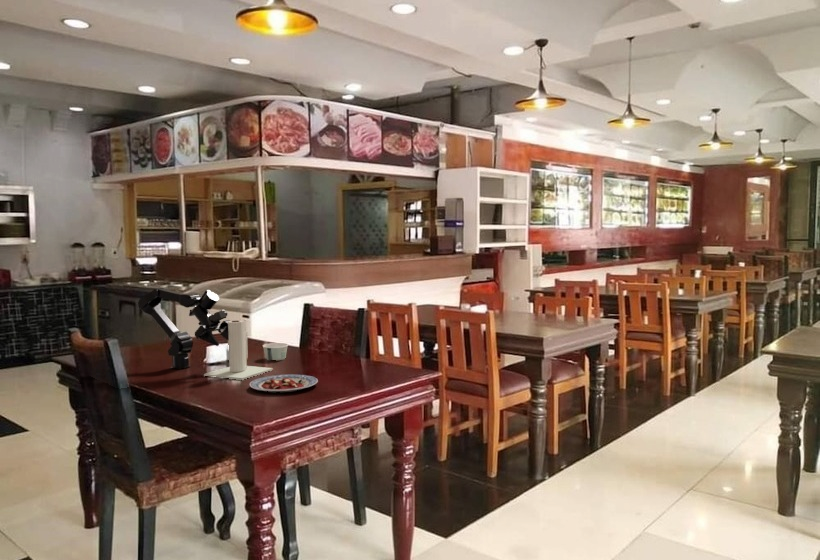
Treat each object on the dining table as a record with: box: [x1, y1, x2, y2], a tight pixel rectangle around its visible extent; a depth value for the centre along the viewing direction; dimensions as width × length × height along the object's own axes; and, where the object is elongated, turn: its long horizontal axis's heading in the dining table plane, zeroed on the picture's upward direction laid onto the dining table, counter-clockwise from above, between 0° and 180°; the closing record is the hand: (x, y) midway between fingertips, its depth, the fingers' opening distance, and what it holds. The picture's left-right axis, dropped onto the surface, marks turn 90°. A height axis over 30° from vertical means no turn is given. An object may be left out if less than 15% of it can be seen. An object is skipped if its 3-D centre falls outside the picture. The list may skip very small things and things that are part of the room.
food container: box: [262, 342, 289, 361], centre depth 293 cm, size 12×12×6 cm
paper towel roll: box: [228, 320, 248, 372], centre depth 261 cm, size 7×6×21 cm
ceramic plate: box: [249, 373, 319, 393], centre depth 238 cm, size 26×26×3 cm
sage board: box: [203, 365, 274, 381], centre depth 262 cm, size 20×20×1 cm
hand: (225, 343), depth 264 cm, fingers open, 9 cm apart
